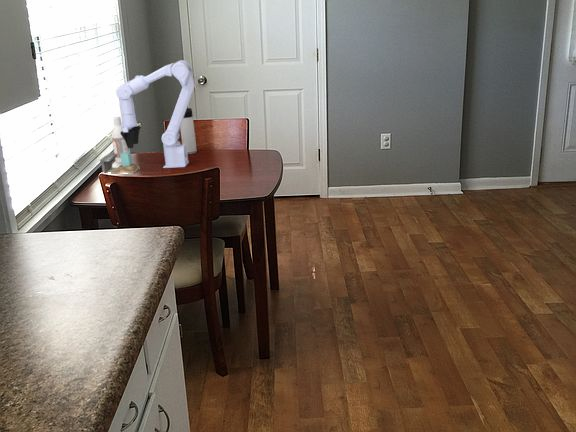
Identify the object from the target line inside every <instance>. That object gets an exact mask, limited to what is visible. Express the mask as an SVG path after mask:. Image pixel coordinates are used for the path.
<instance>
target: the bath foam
mask: <svg viewBox="0 0 576 432" xmlns="http://www.w3.org/2000/svg"><path fill="white" fill-rule="evenodd" d="M113 122H114V127H113V129H112V131H111V141H112V146H113V152H114V153H113V154H117V156H116V157H114V160H115V163H117V164H122V162H121V156H120V154H122V153H127V152H130V154H131V155H132V153H131V148H128V147H127V145H126V142H125V140H124V138H123V137H122V135H121V133H120V132H121V131H123V127H120V125H121V124H122V117H121V116H115V117H113Z"/></svg>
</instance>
